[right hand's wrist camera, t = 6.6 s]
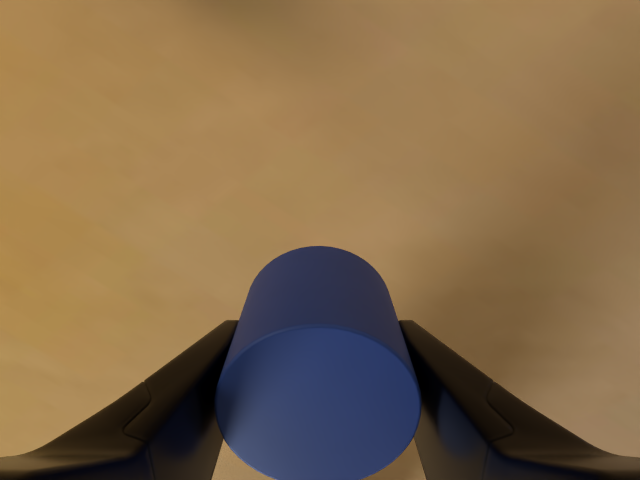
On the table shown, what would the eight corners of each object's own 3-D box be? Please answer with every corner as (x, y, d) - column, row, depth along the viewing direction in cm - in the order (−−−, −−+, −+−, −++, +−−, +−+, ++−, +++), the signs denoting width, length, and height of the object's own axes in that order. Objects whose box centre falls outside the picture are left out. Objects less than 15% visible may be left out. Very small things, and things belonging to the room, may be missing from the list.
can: (253, 234, 12) (220, 310, 8) (405, 256, 12) (447, 341, 8) (240, 361, 13) (207, 476, 9) (374, 378, 13) (396, 498, 10)
